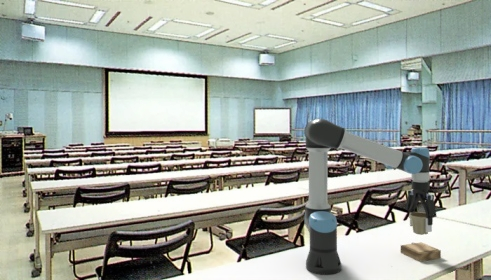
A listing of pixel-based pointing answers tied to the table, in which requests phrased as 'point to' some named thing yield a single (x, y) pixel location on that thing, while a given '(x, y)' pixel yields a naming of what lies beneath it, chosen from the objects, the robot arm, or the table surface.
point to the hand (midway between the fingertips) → (420, 228)
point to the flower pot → (419, 222)
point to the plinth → (420, 251)
